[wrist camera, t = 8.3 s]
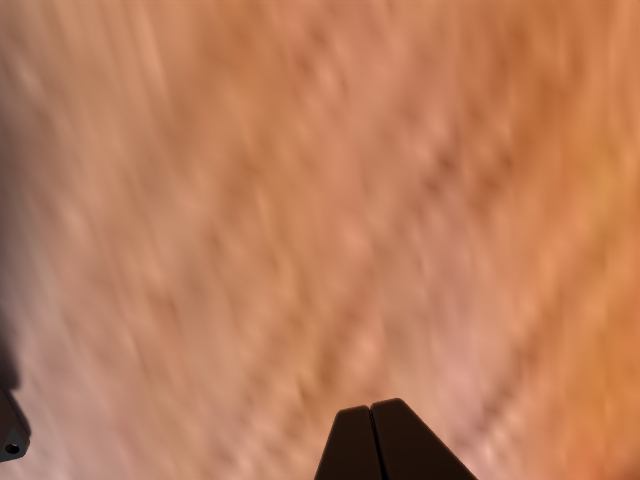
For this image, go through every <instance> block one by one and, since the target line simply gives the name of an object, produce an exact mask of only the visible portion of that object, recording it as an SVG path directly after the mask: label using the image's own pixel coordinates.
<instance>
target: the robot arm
mask: <svg viewBox="0 0 640 480" xmlns="http://www.w3.org/2000/svg"><path fill="white" fill-rule="evenodd" d="M370 411H371V413H370ZM371 416H372V417H371ZM372 420H373V421H372ZM373 425H374V426H373ZM12 444H14V445H17V446H14V445H12ZM29 445H30V440H29V437H28V436H27V434H26V432H25V431H24V429H23V427H22V426H21V424H20V422H19V421H18V419H17V415H16V414H15V412H14V410H13V409H12V407H11V405H10V404H9V402H8V400H7V398H6V397H5V395H4V393H3V392H2V390H1V388H0V462H5V461H9V460H14V459H18V458H21V457H23V456H24V455H25V454H26V452H27V450H28V447H29ZM314 480H478V479H477V478H476V477H475V476H474V475H473V474H472V473H471V472H470V470H469V469H468V468H467V467H466V466H465V465H464V464H463V463H462V462H461V461H460V460H459V459H458V458H457V457H456V456H455V455H454V454H453V452H452V451H451V450H450V449H449V448H448V447H447V446H446V445H445V444H444V443H443V442H442V441H441V440H440V439H439V438H438V437H437V436H436V434H435V433H434V432H433V431H432V430H431V429H430V428H429V427H428V426H427V425H426V424H425V423H424V422H423V421H422V420H421V419H420V418H419V417H418V415H417V414H416V413H415V412H414V411H413V410H412V409H411V408H410V407H409V406H408V405H407V404H406V403H405V402H404V401H403V400H402V399H400V398H393V399H389V400H384V401H380V402H375V403H373V404H372V405H371V407H370V409H369V407H368V406H366V405H361V406H357V407H352V408H347V409H343V410H340V411H339V412H338V413H337V414H336V417H335V419H334V422H333V425H332V428H331V431H330V434H329V437H328V440H327V443H326V445H325V448H324V451H323V454H322V457H321V460H320V463H319V466H318V469H317V472H316V475H315V478H314Z"/></svg>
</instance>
